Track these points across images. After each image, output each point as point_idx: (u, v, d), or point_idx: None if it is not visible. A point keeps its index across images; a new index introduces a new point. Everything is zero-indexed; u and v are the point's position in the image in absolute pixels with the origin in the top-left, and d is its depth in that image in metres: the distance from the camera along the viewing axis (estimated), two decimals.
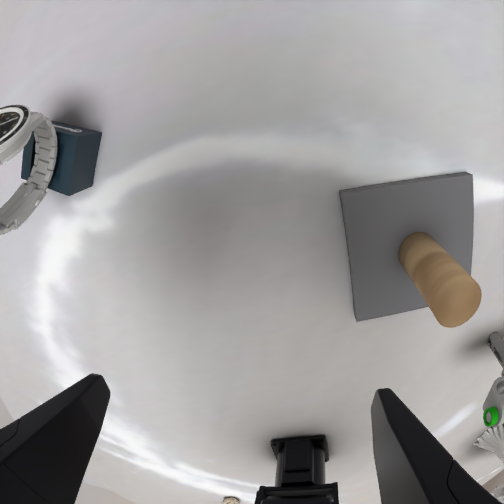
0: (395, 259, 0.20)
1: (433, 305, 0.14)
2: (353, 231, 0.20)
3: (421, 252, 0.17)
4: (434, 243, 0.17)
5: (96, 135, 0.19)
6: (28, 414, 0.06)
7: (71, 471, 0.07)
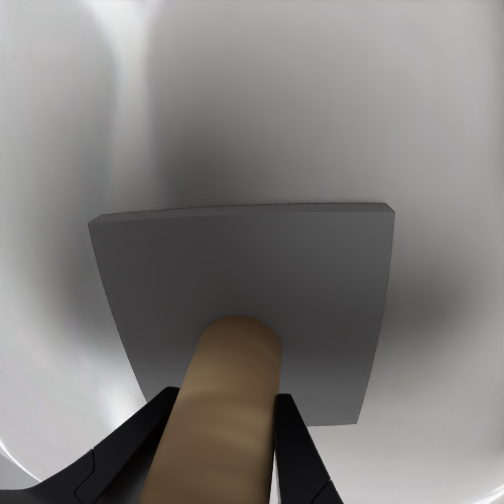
0: None
1: None
2: None
3: None
4: None
5: None
6: (103, 442, 0.06)
7: None
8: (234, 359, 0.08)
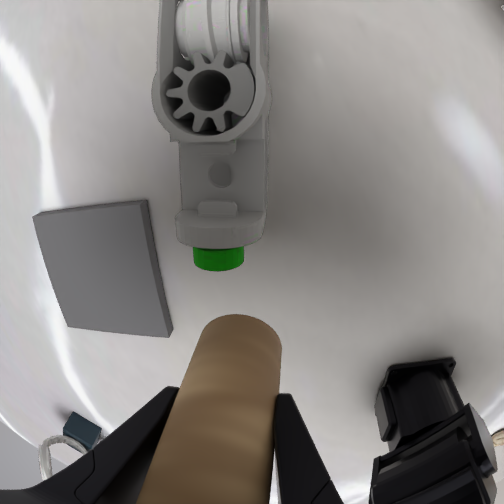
0: (103, 297, 0.21)
1: None
2: (88, 325, 0.23)
3: None
4: None
5: (71, 415, 0.31)
6: (103, 442, 0.06)
7: None
8: (234, 359, 0.08)
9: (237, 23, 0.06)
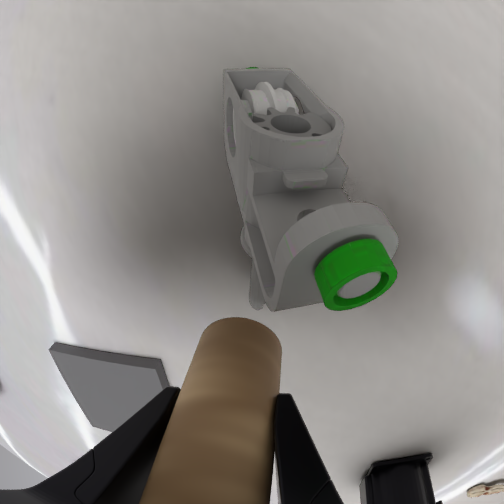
0: (126, 417, 0.22)
1: None
2: (112, 430, 0.23)
3: None
4: None
5: None
6: (103, 442, 0.06)
7: None
8: (234, 364, 0.08)
9: (293, 99, 0.10)
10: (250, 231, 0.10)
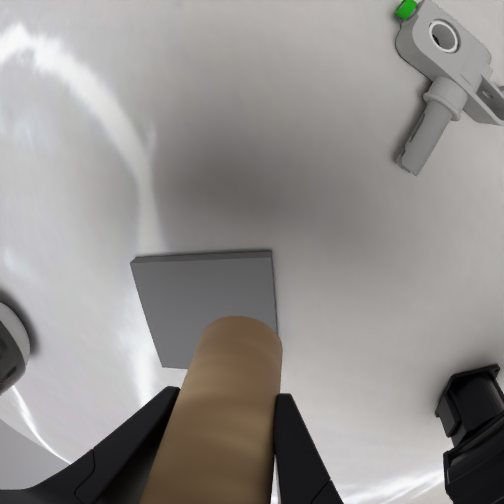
0: None
1: None
2: (189, 365, 0.24)
3: None
4: None
5: None
6: (103, 442, 0.06)
7: None
8: (235, 362, 0.08)
9: None
10: (477, 96, 0.12)
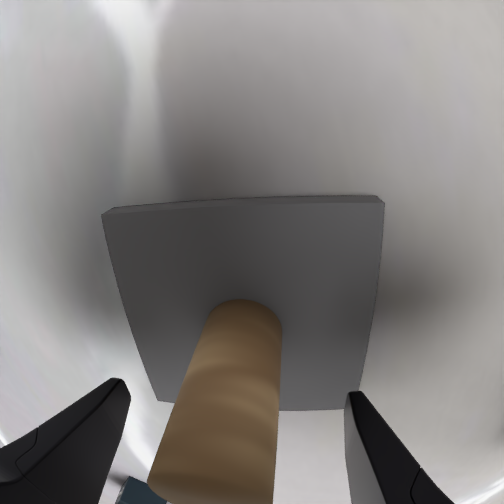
0: None
1: None
2: None
3: None
4: None
5: (128, 482, 0.22)
6: (47, 422, 0.06)
7: (92, 480, 0.06)
8: (240, 337, 0.09)
9: None
10: None
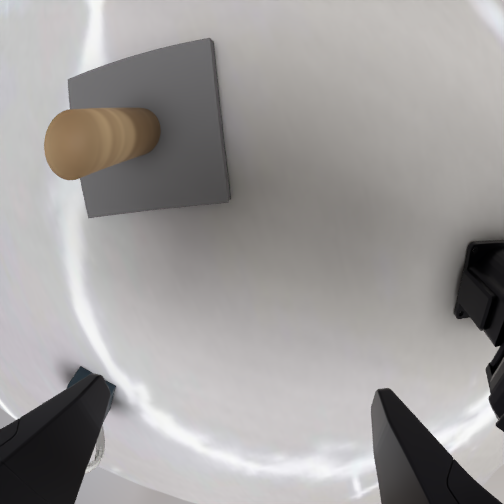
0: (146, 158, 0.18)
1: (78, 178, 0.11)
2: (118, 207, 0.19)
3: None
4: None
5: (78, 371, 0.27)
6: (28, 414, 0.06)
7: (71, 471, 0.07)
8: None
9: None
10: None
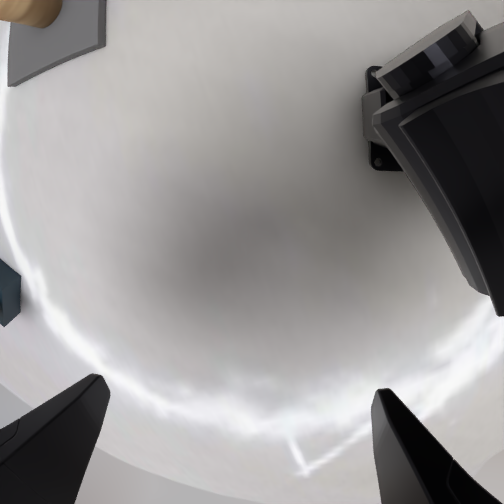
0: (49, 28, 0.15)
1: None
2: (26, 71, 0.16)
3: None
4: None
5: None
6: (28, 414, 0.06)
7: (71, 471, 0.07)
8: None
9: None
10: None
